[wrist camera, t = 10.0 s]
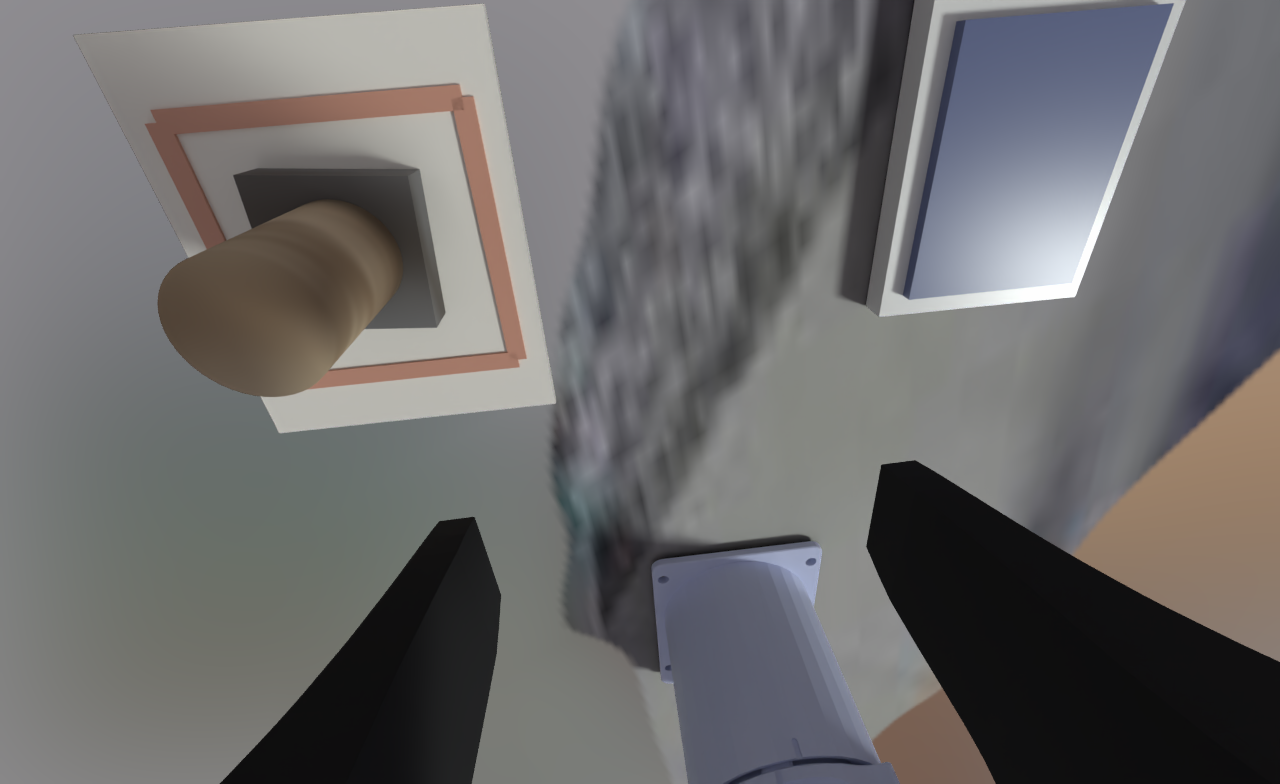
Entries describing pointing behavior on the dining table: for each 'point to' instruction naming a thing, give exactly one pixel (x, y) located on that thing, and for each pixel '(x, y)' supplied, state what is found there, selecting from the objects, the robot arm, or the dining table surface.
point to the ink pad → (1010, 146)
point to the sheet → (351, 139)
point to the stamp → (304, 277)
